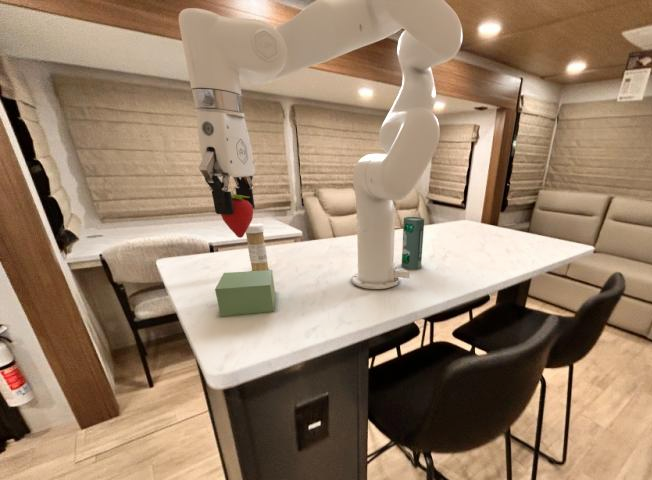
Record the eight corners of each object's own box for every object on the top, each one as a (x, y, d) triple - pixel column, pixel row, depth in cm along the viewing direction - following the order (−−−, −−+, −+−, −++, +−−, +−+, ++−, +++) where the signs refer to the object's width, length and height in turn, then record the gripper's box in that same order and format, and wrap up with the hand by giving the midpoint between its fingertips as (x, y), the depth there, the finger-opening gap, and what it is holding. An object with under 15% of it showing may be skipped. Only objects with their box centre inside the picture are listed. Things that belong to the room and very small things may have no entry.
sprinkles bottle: (266, 268, 90) (259, 222, 85) (271, 273, 87) (265, 225, 82) (249, 271, 88) (241, 223, 82) (254, 276, 84) (246, 226, 79)
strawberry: (259, 233, 67) (252, 184, 63) (254, 241, 60) (246, 187, 56) (228, 233, 65) (219, 183, 61) (221, 242, 58) (210, 186, 54)
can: (402, 263, 101) (404, 216, 95) (421, 264, 101) (424, 217, 95) (400, 268, 96) (403, 219, 90) (420, 270, 95) (424, 220, 89)
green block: (275, 293, 74) (272, 269, 72) (273, 311, 65) (270, 285, 63) (228, 297, 71) (223, 272, 69) (220, 316, 62) (214, 289, 60)
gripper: (211, 96, 45) (232, 219, 52) (262, 114, 61) (273, 206, 68) (161, 94, 45) (188, 217, 53) (225, 113, 61) (239, 205, 68)
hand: (236, 210), depth 60 cm, fingers closed on strawberry, 7 cm apart
